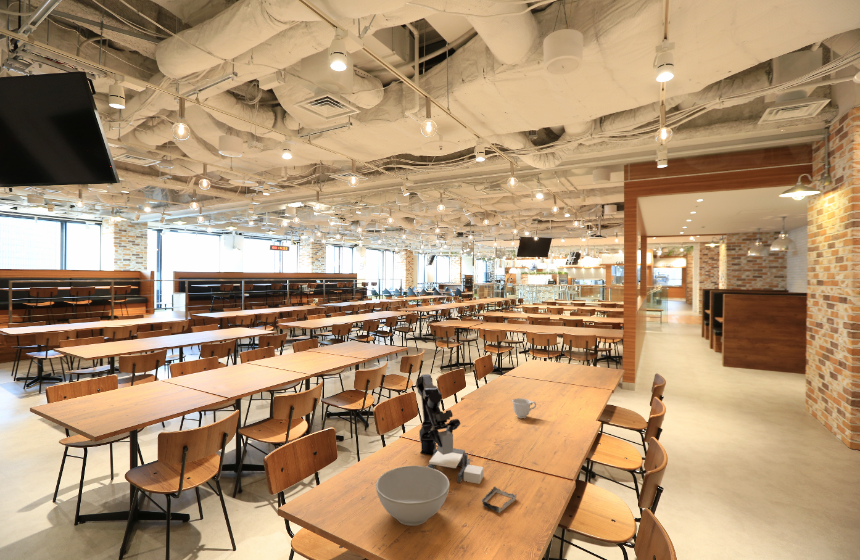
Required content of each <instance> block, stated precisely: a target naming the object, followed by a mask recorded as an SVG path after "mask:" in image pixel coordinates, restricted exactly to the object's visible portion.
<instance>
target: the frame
mask: <svg viewBox="0 0 860 560" xmlns="http://www.w3.org/2000/svg"><path fill="white" fill-rule="evenodd" d="M436 452H437V448H436V449H434V450H433V455H432V457H433V456H434V455H435V453H436ZM470 463H471V459H470V458H469V455H468V453H465V455H464V465H463V467H462V466H461V468H460V470H459V472H458V474H457V476H456V483H457V484H461V482H462V481H463V480H464V470H465V469H466V467H467V465H471V464H470ZM436 466H437V465H433V464H429V463H428V465H427V466H426V467H430V468H434V469H435V468H436ZM461 480H462V481H461Z"/></svg>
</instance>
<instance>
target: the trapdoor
mask: <svg viewBox="0 0 860 560" xmlns="http://www.w3.org/2000/svg"><path fill="white" fill-rule="evenodd" d="M465 454H466V450H465V449H460V448H456V447H455V448H454V447H453V453H449V454H444V455H443V454H441V453H440V452H439V451H438V450H437V452H436V453H435V455H434V456H433V455H432V457H431V458H430V460H429V461H428V465H429V464H433V465H436V466H440V467H445V468H452V469H457V467H461V468H462V467H463V465H464V455H465Z"/></svg>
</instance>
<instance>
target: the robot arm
mask: <svg viewBox="0 0 860 560" xmlns="http://www.w3.org/2000/svg"><path fill="white" fill-rule="evenodd" d="M415 381H416V382H415V387H416V389H417V393H418V395H420V398H421V406H422V410H421V411H422V419H423V421H422V423H421V427H420V429H419V430H418V431H419V433H418V434H419V440H420V442H421V446H420V448H421V451H420V452H419V454H423V455H428V456H433V450H434V449H437V444H438V445H439V446H440V447H442V444H441V441H440V438H439V436H438V432H440V430H445V431H447V430H448V431H449V432H450V433H452V434H453V433H454V432H453V431H455V430H457V429H458V428H459V427H460V426H461V421H460V420H459V418H455V419H451V418H452V417H454V415H453V412H452V409H447V410H445V412H443V410H441V408H440V405H441V401H442V396H443V394H442V392H440V389H438V387H437V386H436V385H434V384H433V377H432V376H431V374H428V373H427V374H421V375H420V377H417V379H416V380H415ZM448 420H449V422H448ZM447 422H448V423H447Z"/></svg>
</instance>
